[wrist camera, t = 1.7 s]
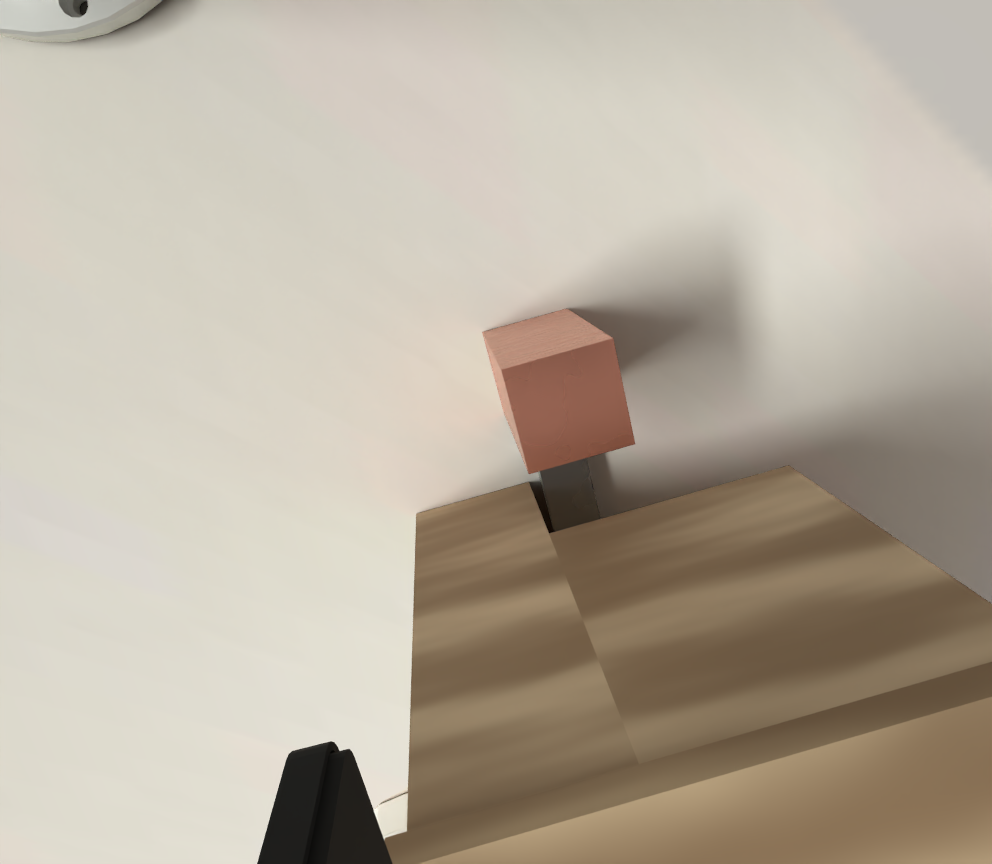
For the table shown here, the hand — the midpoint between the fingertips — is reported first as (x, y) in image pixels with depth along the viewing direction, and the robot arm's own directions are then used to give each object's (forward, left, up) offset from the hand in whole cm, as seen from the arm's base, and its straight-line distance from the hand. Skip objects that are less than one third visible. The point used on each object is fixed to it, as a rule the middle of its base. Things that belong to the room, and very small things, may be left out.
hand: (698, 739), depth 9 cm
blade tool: (+8, +1, -20) cm, 21 cm away
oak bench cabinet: (+12, +1, -20) cm, 23 cm away
